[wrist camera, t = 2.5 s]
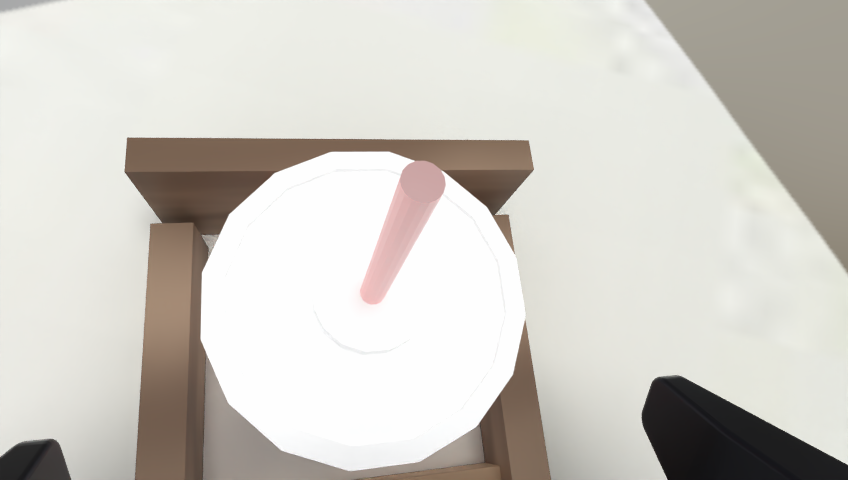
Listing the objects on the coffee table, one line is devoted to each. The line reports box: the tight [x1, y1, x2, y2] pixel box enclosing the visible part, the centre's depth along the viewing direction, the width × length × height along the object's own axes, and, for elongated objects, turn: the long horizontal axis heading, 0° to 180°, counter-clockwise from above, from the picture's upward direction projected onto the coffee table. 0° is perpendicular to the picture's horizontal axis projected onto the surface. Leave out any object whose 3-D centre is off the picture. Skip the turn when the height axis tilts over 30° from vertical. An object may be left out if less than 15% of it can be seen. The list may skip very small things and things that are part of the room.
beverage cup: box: [201, 152, 526, 471], centre depth 12 cm, size 6×6×14 cm
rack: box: [125, 138, 551, 480], centre depth 16 cm, size 14×11×5 cm
